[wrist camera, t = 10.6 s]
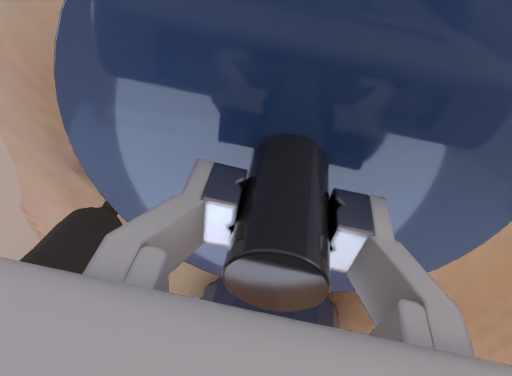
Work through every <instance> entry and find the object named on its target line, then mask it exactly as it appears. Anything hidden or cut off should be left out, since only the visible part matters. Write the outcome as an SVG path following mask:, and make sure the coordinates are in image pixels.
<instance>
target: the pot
mask: <svg viewBox="0 0 512 376" xmlns="http://www.w3.org/2000/svg"><path fill="white" fill-rule="evenodd" d="M201 300H206V301H210V302H215V303H220V304H224V305H229V306H234V307H239V308H243V309H248V310H253V311H257V312H262V313H267V314H272V315H276V316H281V317H286V318H290V319H295V320H300V321H305V322H309V323H314V324H319V325H324V326H328V327H333V328H338V329H339V320H338V314H337V311H336V309H335V307H334V305H333V304H332V303H331V302H330V301H329V299H328V298H325V299H324V300H323V301H322V302H321V303H320V304H318V305H316V306H314V307H312V308H309V309H305V310H300V311H292V312H280V311H271V310H266V309H262V308H258V307H255V306H252V305H250V304H248V303H245V302H244V301H242V300H240V299H238V298H237V297H235V296H234V295H233V294H232V293H231V292H230V291H229V290H228V289H227V287H226V286H225V284H224V281H223V278H221V279H219V280H216V281H214V282H213V283H211V284H210V285H209V286H208V287H206V289H205V290H204V291H203V294H202V296H201Z"/></svg>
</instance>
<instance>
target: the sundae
mask: <svg viewBox="0 0 512 376" xmlns="http://www.w3.org/2000/svg"><path fill="white" fill-rule="evenodd" d="M117 214H118V213H117V212H116V211H115V210H114V209H113V208H112V206H111V205H110V204H109V203H108V202H107V201H105V203H104V204H103V206H102V207H100V208H93V207H89V208H83V209H78V210H75V211H73V212H71V213H70V214H69V215H68V216H67V217H66V218H64V219H63V220H62V221H61V222H60V223H58V224H57V225H56V226H55V227H54V228H53V229H52V230H51V231H50V232H49V233H48V234H47V235H46V236H45V237H44V238H43V239H42V240H41V241H40V242H39V243H38V244H37V245H36V246H35V247H34V249H32V250H31V251H30V252H29V253H28V254H26V255H25V256H24V257H23V258H22V259H21V260H20V261H21V262H26V263H31V264H36V265H40V266H45V267H50V268H54V269H59V270H64V271H69V272H73V273H78V274H83V272H84V270H85V269H86V267H87V265H88V264H89V262H90V260H91V259H92V257H93V256H94V254H95V252H96V251H97V249H98V247H99V246H100V244H101V242H102V241H103V239H104V237H105V236H106V235H107V234H108V233H110V232H112V231H114V230H115V229H117V228H119V227H120V226H122V223H121V221H120V220H119V219H118V217H117Z"/></svg>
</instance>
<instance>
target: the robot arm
mask: <svg viewBox="0 0 512 376" xmlns="http://www.w3.org/2000/svg"><path fill="white" fill-rule="evenodd" d="M246 176H247V170H246V169H242V168H238V167H233V166H229V165H225V164H221V163H216V162H215V163H214V162H211V161H206V160H202V159H198V160H197V161H196V162H195V164H194V167H193V169H192V171H191V173H190V176H189V178H188V180H187V182H186V185H185V187H184V189H183V191H182V194H181V196H180V195H174V196H173V197H171V198H169V199H167V200H166V201H164V202H162V203H160V204H159V205H157V206H155V207H153V208H152V209H150V210H148V211H146V212H145V213H143V214H141V215H140V216H138V217H136V218H134V219H133V220H131V221H129V222H127V223H126V224H124V225H122V226H120V227H119V228H117V229H115V230H114V231H112V232H110V233H108V234H107V235H106V236H105V237H104V239H103V241H102V242H101V244H100V246H99V247H98V249H97V251H96V252H95V254H94V256H93V257H92V259H91V260H90V262H89V264H88V265H87V267H86V269H85V270H84V272H83V274H78V273H73V272H69V271H64V270H59V269H54V268H50V267H45V266H40V265H36V264H31V263H26V262H21V261H16V260H12V259H7V258H2V257H0V376H512V365H508V364H504V363H499V362H494V361H489V360H485V359H480V358H475V355H474V351H473V348H472V345H471V342H470V338H469V335H468V332H467V328H466V325H465V322H464V319H463V315H462V312H461V310H460V309H459V308H458V306H457V305H456V304H455V303H454V302H453V301H452V300H451V299H450V297H449V296H448V295H447V294H446V293H445V292H444V291H443V290H442V288H441V287H440V286H439V285H438V284H437V283H436V282H435V281H434V279H433V278H432V277H431V276H430V275H429V274H428V273H427V272H426V270H425V269H424V268H423V267H422V266H421V265H420V264H419V263H418V262H417V260H416V259H415V258H414V257H413V256H412V255H411V254H410V253H409V251H408V250H407V249H406V248H405V247H404V246H403V245H402V244H401V242H399V241H395V239H394V234H393V229H392V224H391V219H390V214H389V208H388V203H387V200H386V198H385V197H379V196H374V195H369V194H368V195H367V194H362V193H357V192H352V191H347V190H342V189H337V188H334V189H333V191H332V192H331V195H330V270H334V271H339V272H343V273H347V277H348V278H349V280H350V282H351V284H352V285H353V287H354V289H355V291H356V292H357V294H358V296H359V298H360V299H361V301H362V303H363V305H364V306H365V308H366V310H367V312H368V313H369V315H370V317H371V319H372V320H373V322H374V324H375V326H376V327H375V328H374V330H373V331H372V332H371V333H370V334H369V335H366V334H362V333H357V332H352V331H347V330H343V329H338V328H333V327H328V326H324V325H319V324H314V323H309V322H305V321H300V320H295V319H290V318H286V317H281V316H276V315H272V314H267V313H262V312H257V311H253V310H248V309H243V308H239V307H234V306H229V305H224V304H220V303H215V302H210V301H206V300H201V299H196V298H191V297H187V296H182V295H177V294H172V293H169V280H168V275H169V274H170V273H171V272H172V271H173V270H174V269H175V268H177V267H178V266H179V265H180V264H181V263H182V262H183V261H185V260H186V259H187V258H188V257H189V256H190V255H191V254H193V253H194V252H195V251H196V250H197V249H198V248H199V247H201V246H202V245H203V243H205V244H210V245H216V246H221V247H227V248H228V246H229V242H230V239H231V235H232V231H233V227H234V224H235V221H236V217H237V214H238V210H239V206H240V199H241V196H242V194H243V190H244V186H245V182H246Z"/></svg>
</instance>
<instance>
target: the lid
mask: <svg viewBox="0 0 512 376" xmlns="http://www.w3.org/2000/svg"><path fill="white" fill-rule="evenodd" d="M54 78H55V86H56V94H57V102H58V106H59V110H60V113H61V117H62V121H63V125H64V128H65V131H66V133H67V136H68V138H69V141H70V143H71V145H72V148H73V150H74V153H75V154H76V156H77V158H78V160H79V162H80V163H81V165H82V167H83V169H84V171H85V173H86V174H87V175H88V177H89V178H90V180H91V181H92V183H93V184H94V185H95V187H96V188H97V190H98V191H99V193H100V194H101V195H102V196H103V197H104V198H105V200H106V201H107V202H108V203H109V204H110V205H111V206H112V208H113V209H114V210H115V211H116V212H117V213H118V214H119V215H120V216H121V217H122V218H123V219H124V220H126V221H127V222H129V221H131V220H133V219H134V218H136V217H138V216H140V215H141V214H143V213H145V212H146V211H148V210H150V209H152V208H153V207H155V206H157V205H159V204H160V203H162V202H164V201H166V200H167V199H169V198H171V197H173V196H174V195H180V196H181V194H182V191H183V189H184V187H185V185H186V182H187V180H188V178H189V176H190V173H191V171H192V169H193V167H194V164H195V162H196V161H197V160H198V159H202V160H206V161H211V162H214V163H215V162H216V163H221V164H225V165H229V166H233V167H238V168H242V169H246V170H247V176H246V182H245V186H244V190H243V194H242V196H241V199H240V206H239V210H238V214H237V217H236V221H235V224H234V227H233V231H232V235H231V239H230V242H229V246H228V248H227V247H221V246H216V245H210V244H205V243H203V245H202V246H201V247H199V248H198V249H197V250H196V251H195V252H194V253H193V254H191V255H190V256H189V257H188V258H187V259H186V260H185V261H184V262H186V263H189V264H191V265H193V266H195V267H197V268H199V269H202V270H204V271H207V272H209V273H212V274H214V275H217V276H220V277H222V278H223V281H224V284H225V286H226V287H227V289H228V290H229V291H230V292H231V293H232V294H233V295H234V296H235V297H237V298H238V299H240V300H242V301H244V302H245V303H248V304H250V305H252V306H255V307H258V308H262V309H266V310H271V311H280V312H292V311H300V310H305V309H309V308H312V307H314V306H316V305H318V304H320V303H321V302H322V301H323V300H324V299H325V298H326V297H327V295H328V293H335V292H349V291H355V289H354V287H353V285H352V284H351V282H350V280H349V278H348V277H347V273H343V272H339V271H334V270H330V195H331V192H332V191H333V189H334V188H337V189H342V190H347V191H352V192H357V193H362V194H367V195H368V194H369V195H374V196H379V197H385V198H386V200H387V203H388V208H389V214H390V219H391V224H392V229H393V234H394V239H395V241H399V242H401V244H402V245H403V246H404V247H405V248H406V249H407V250H408V251H409V253H410V254H411V255H412V256H413V257H414V258H415V259H416V260H417V262H418V263H419V264H420V265H421V266H422V267H423V268H424V269H425V270H426V272H427V273H428V272H430V271H433V270H435V269H438V268H440V267H442V266H444V265H446V264H448V263H450V262H452V261H454V260H456V259H458V258H461V257H462V256H464V255H466V254H467V253H469V252H470V251H472V250H474V249H475V248H477V247H479V246H480V245H482V244H483V243H485V242H486V241H487V240H489V239H490V238H491V237H493V236H494V235H495V234H497V233H498V232H499V231H501V230H502V229H503V228H504V227H506V226H507V225H508V224H509V223H510V222H511V221H512V0H64V2H63V5H62V8H61V12H60V17H59V22H58V28H57V33H56V38H55V52H54Z"/></svg>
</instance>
